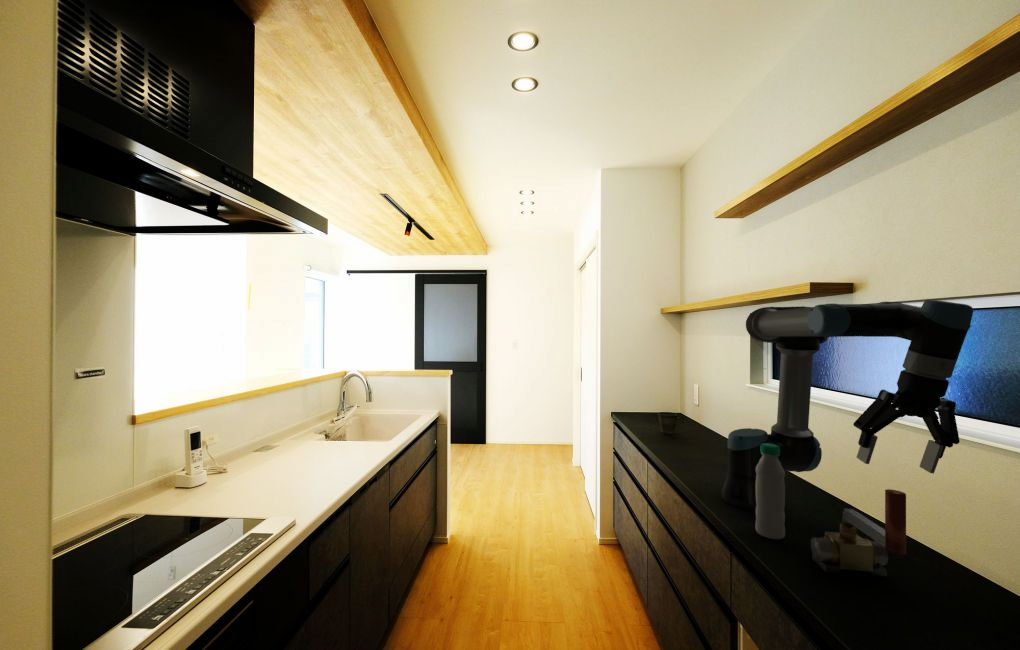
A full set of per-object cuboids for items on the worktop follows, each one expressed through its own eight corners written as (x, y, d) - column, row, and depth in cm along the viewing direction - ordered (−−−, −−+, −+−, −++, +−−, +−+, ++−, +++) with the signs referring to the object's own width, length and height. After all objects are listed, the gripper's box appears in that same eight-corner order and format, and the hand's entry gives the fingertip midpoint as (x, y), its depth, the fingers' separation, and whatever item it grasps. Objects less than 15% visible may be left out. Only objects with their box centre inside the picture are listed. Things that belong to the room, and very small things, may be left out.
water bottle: (778, 529, 121) (778, 442, 121) (789, 541, 114) (789, 449, 114) (751, 527, 123) (751, 440, 123) (760, 539, 116) (760, 447, 116)
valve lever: (838, 522, 103) (837, 466, 103) (852, 523, 103) (852, 467, 103) (892, 562, 86) (892, 495, 86) (910, 564, 85) (910, 495, 85)
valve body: (823, 572, 100) (823, 530, 100) (809, 558, 106) (809, 518, 106) (889, 577, 98) (889, 534, 98) (871, 563, 104) (871, 522, 104)
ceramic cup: (655, 432, 232) (655, 414, 232) (662, 428, 240) (662, 411, 240) (679, 436, 224) (679, 417, 224) (685, 432, 231) (685, 414, 231)
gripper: (877, 371, 86) (848, 465, 90) (1006, 388, 85) (970, 483, 89) (851, 360, 93) (825, 448, 97) (969, 376, 92) (937, 464, 96)
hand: (894, 465), depth 93 cm, fingers open, 13 cm apart
